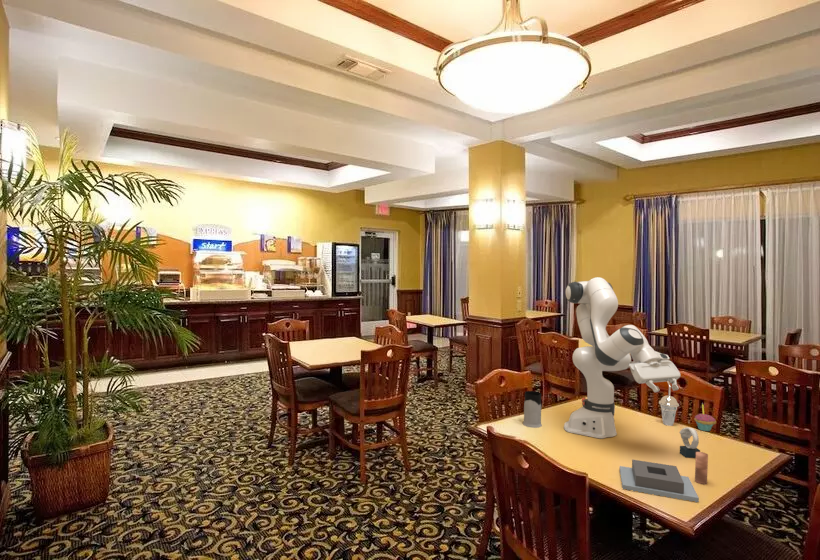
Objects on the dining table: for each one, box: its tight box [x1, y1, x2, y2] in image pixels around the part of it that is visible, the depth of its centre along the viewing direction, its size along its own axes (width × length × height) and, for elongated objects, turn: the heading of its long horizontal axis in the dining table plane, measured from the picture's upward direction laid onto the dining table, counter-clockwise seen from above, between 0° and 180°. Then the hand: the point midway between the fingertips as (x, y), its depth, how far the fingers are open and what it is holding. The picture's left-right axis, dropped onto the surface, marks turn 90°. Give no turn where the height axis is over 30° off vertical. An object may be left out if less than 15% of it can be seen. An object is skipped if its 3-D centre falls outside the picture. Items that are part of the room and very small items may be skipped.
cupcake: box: [693, 402, 717, 432], centre depth 212 cm, size 9×8×12 cm
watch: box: [679, 427, 701, 459], centre depth 182 cm, size 6×8×11 cm
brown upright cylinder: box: [694, 451, 709, 485], centre depth 159 cm, size 4×4×10 cm
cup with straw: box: [658, 381, 680, 427], centre depth 219 cm, size 8×9×20 cm
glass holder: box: [522, 390, 543, 429], centre depth 217 cm, size 9×14×15 cm, turn 148°
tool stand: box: [619, 459, 700, 503], centre depth 156 cm, size 22×16×5 cm
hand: (667, 390), depth 175 cm, fingers open, 8 cm apart
